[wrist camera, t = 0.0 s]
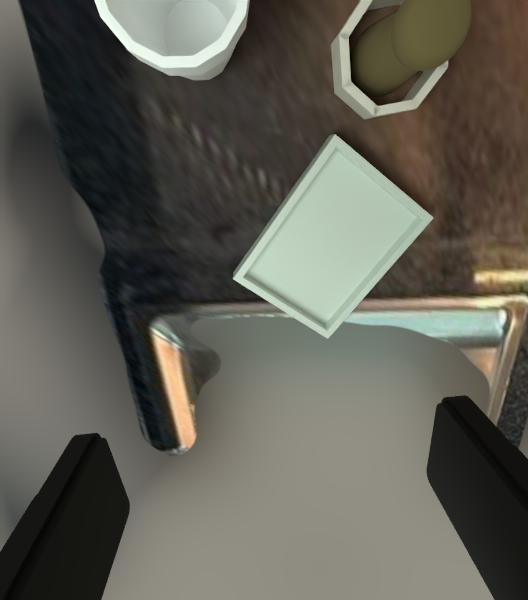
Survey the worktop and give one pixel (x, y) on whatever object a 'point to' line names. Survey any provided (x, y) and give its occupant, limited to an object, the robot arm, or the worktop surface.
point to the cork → (409, 43)
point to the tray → (331, 239)
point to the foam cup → (178, 32)
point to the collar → (343, 75)
